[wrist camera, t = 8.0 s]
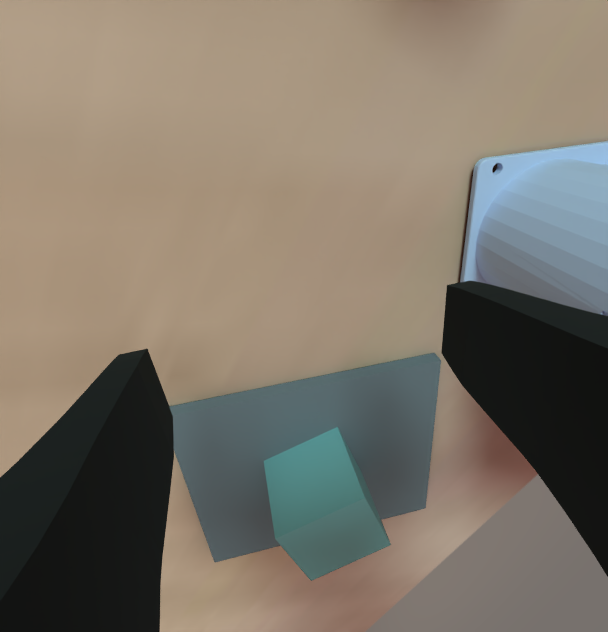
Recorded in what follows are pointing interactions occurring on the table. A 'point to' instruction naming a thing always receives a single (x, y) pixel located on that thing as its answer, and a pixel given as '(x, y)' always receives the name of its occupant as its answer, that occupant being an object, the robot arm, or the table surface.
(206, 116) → the table surface
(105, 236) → the table surface
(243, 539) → the grey blue flat plate
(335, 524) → the cube
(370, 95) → the table surface
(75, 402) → the robot arm
